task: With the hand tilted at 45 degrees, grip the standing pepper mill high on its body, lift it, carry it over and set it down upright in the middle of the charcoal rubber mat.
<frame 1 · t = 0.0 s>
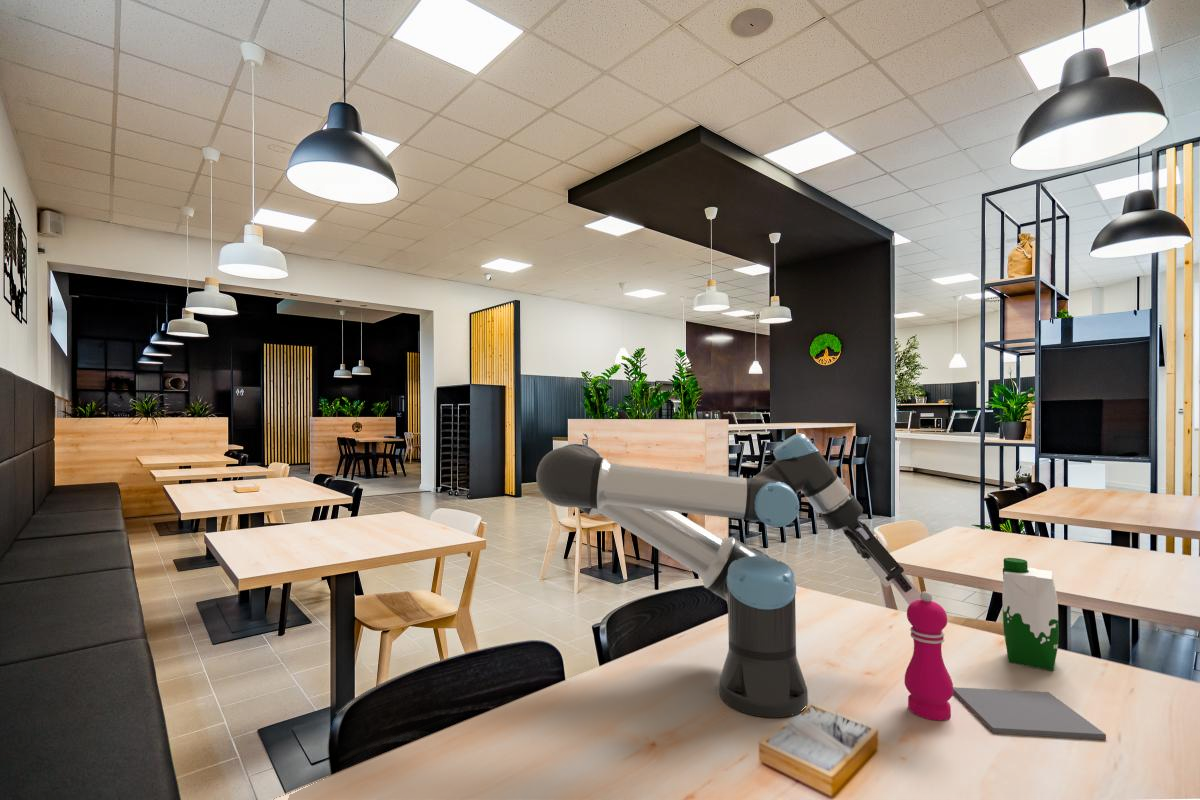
hand: (903, 593, 114), 15 cm above the table, tool tilted 35°, fingers open, 13 cm apart
milk carton: (1031, 662, 118), on the table
rubber mat: (1022, 713, 97), on the table
pepper mill: (929, 712, 98), on the table
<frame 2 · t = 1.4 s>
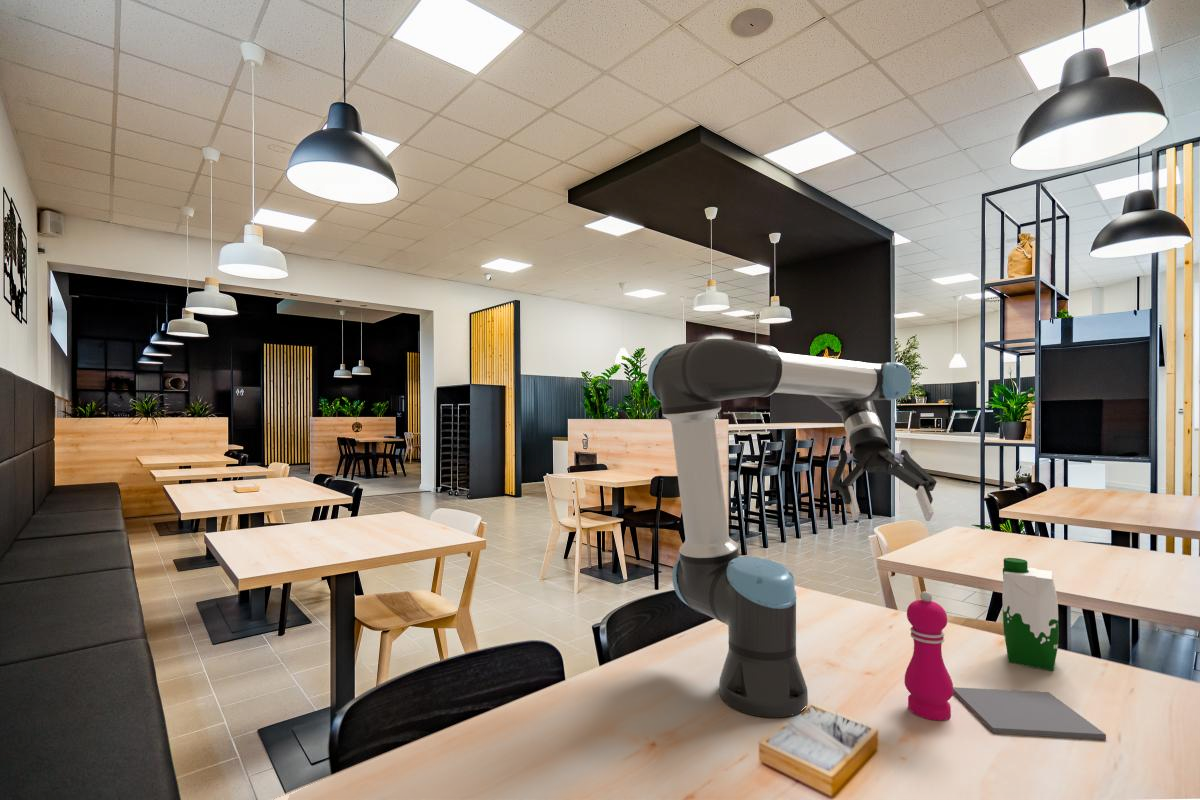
hand: (893, 516, 115), 30 cm above the table, tool tilted 45°, fingers open, 13 cm apart
nothing on the table moved.
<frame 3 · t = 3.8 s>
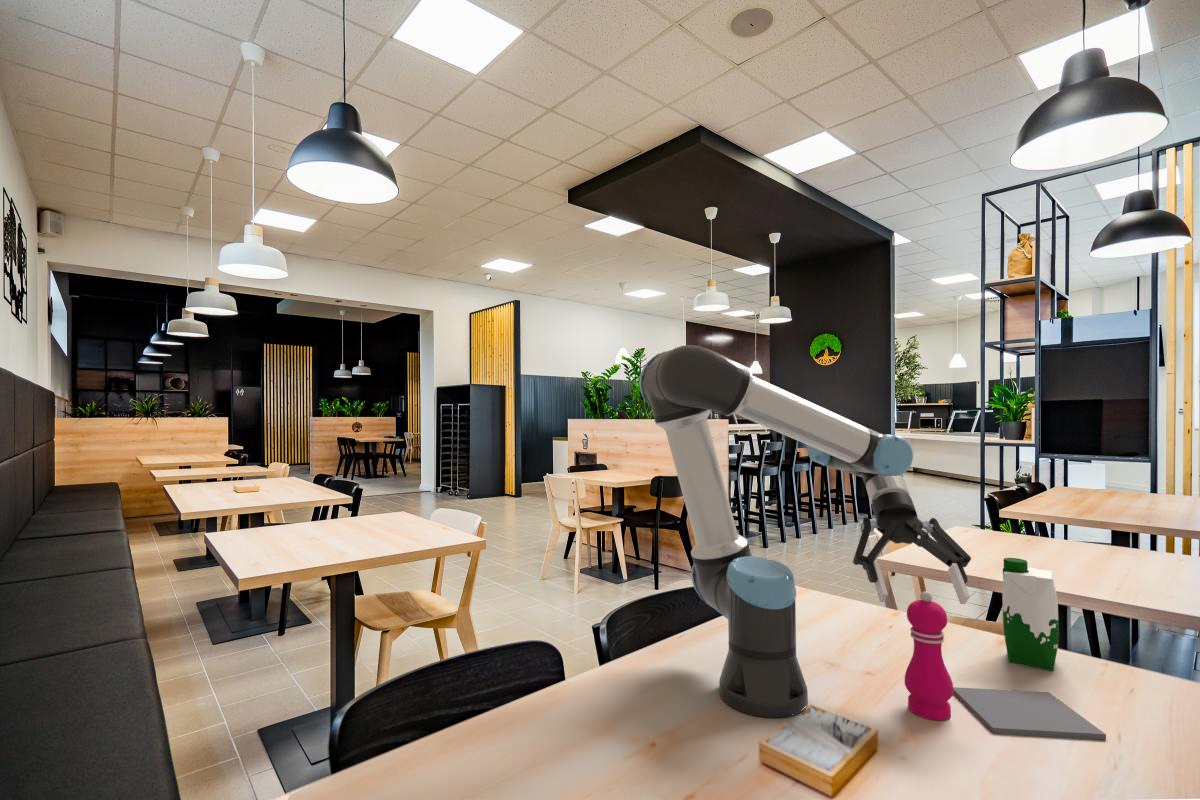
hand: (924, 599, 103), 17 cm above the table, tool tilted 45°, fingers open, 13 cm apart
nothing on the table moved.
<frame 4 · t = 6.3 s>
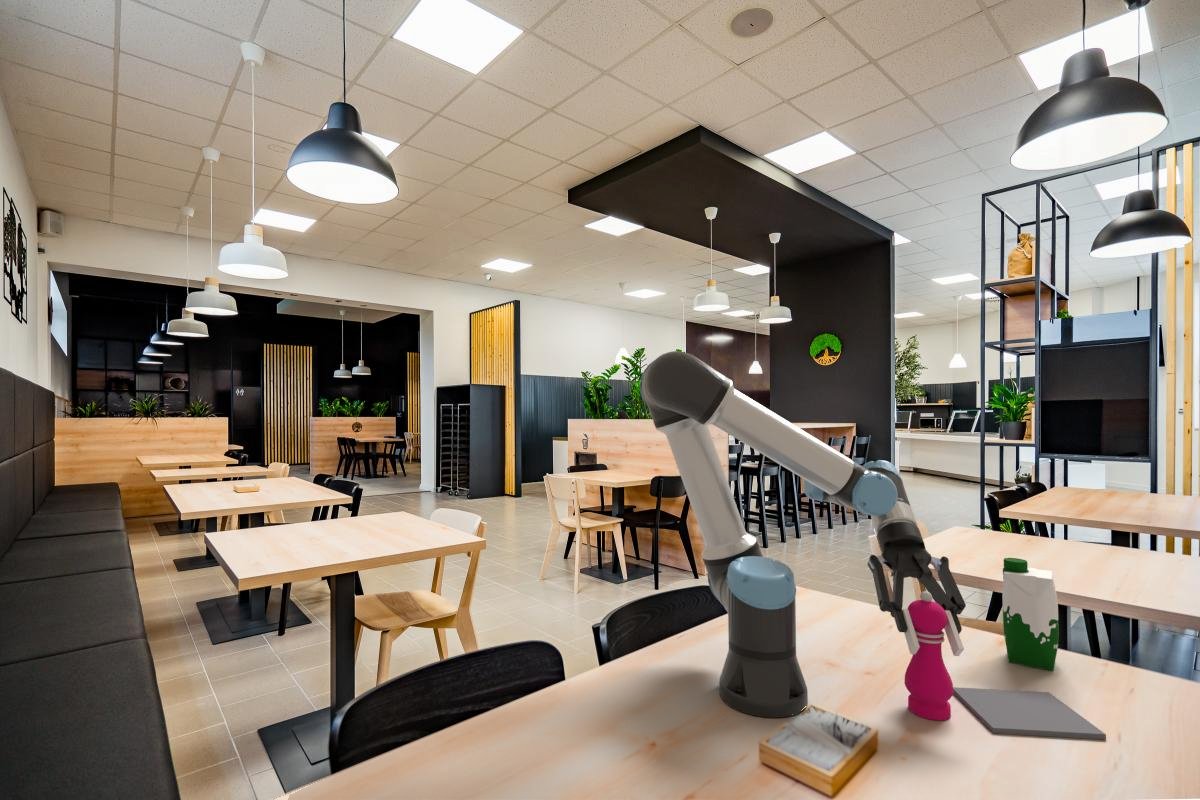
hand: (936, 651, 95), 11 cm above the table, tool tilted 45°, fingers closed on pepper mill, 6 cm apart
pepper mill: (929, 712, 98), on the table, touching gripper
everything else where it was.
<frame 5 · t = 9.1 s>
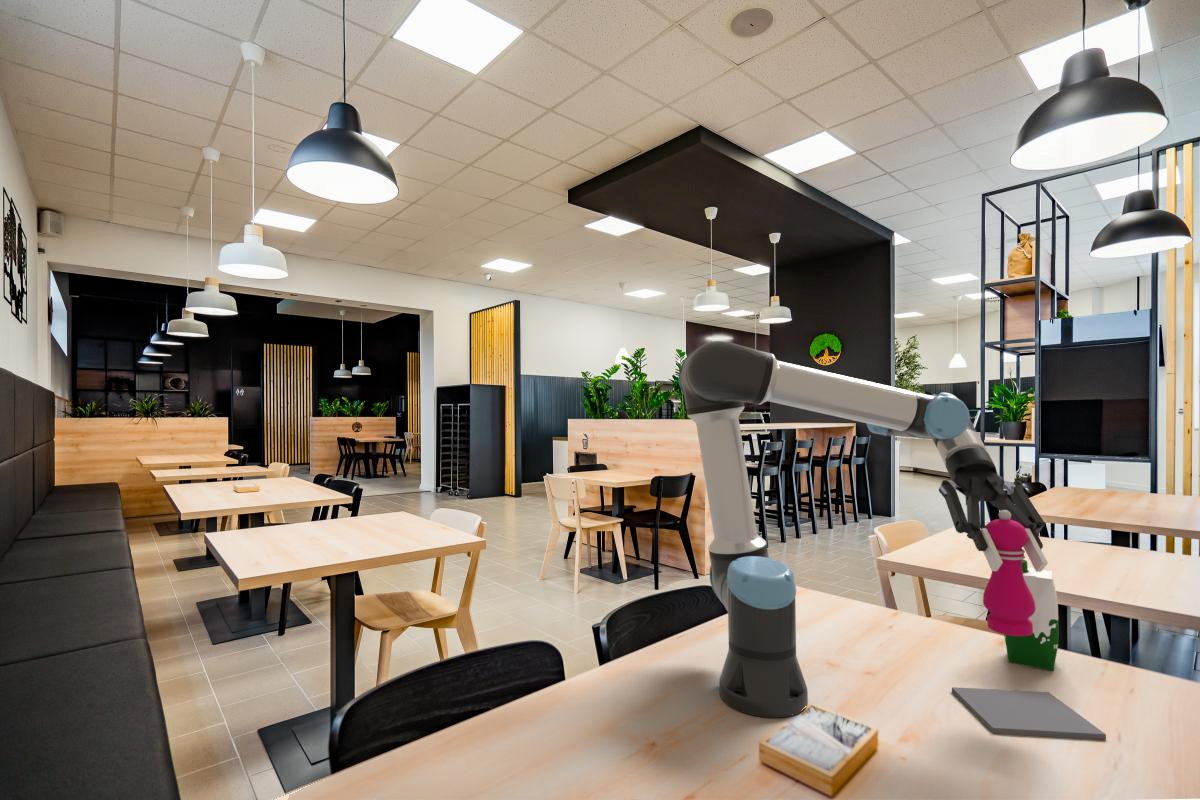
hand: (1019, 566, 95), 25 cm above the table, tool tilted 45°, fingers closed on pepper mill, 6 cm apart
pepper mill: (1009, 630, 98), point 14 cm above the table, touching gripper
everything else where it was.
when the fingers open (13 cm above the table, at t = 12.3 s): pepper mill stays where it is, resting on rubber mat.
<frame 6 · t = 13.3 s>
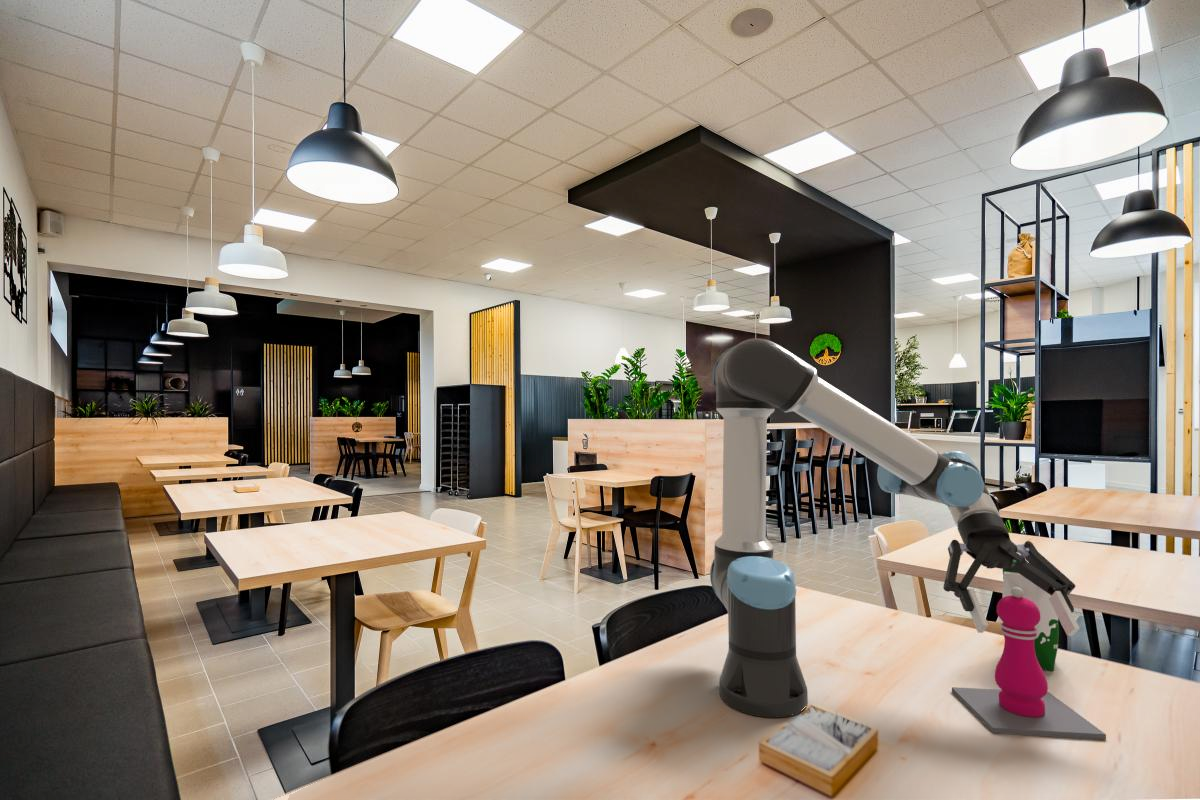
hand: (1028, 630, 96), 14 cm above the table, tool tilted 45°, fingers open, 13 cm apart
pepper mill: (1021, 709, 97), point 1 cm above the table, touching rubber mat
everything else where it was.
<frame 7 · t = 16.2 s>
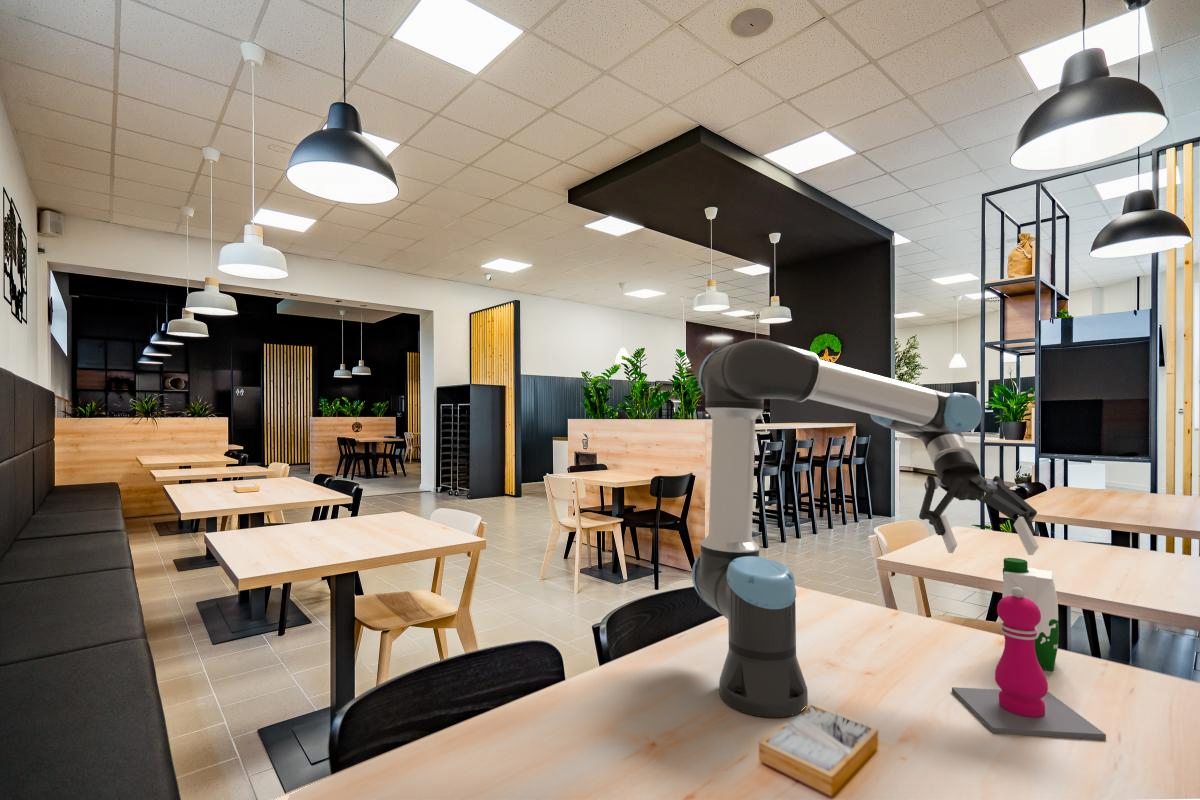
hand: (992, 550, 107), 25 cm above the table, tool tilted 45°, fingers open, 13 cm apart
nothing on the table moved.
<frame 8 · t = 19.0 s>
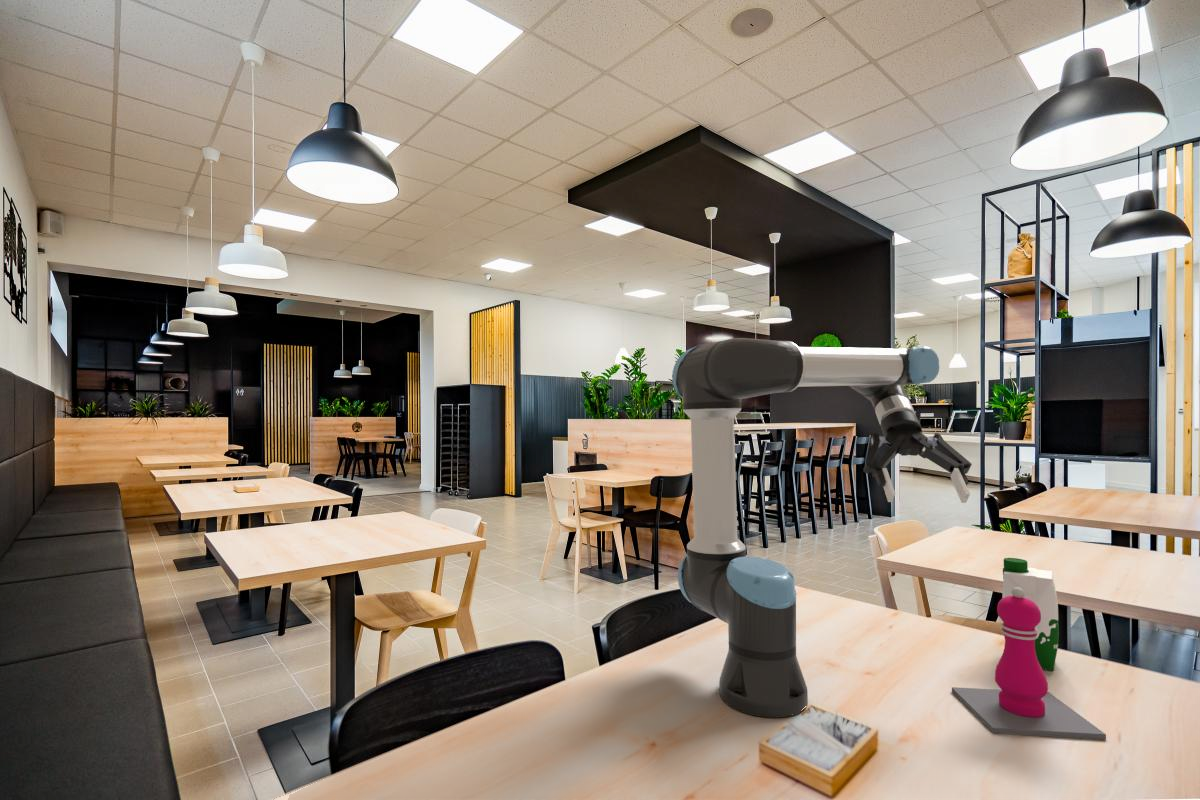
hand: (928, 498, 114), 34 cm above the table, tool tilted 45°, fingers open, 13 cm apart
nothing on the table moved.
at the end: pepper mill inside the target area on the rubber mat (0.1 cm from its centre), point 0.6 cm above the rubber mat's base; pepper mill tilted 0°; the gripper is holding nothing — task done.
